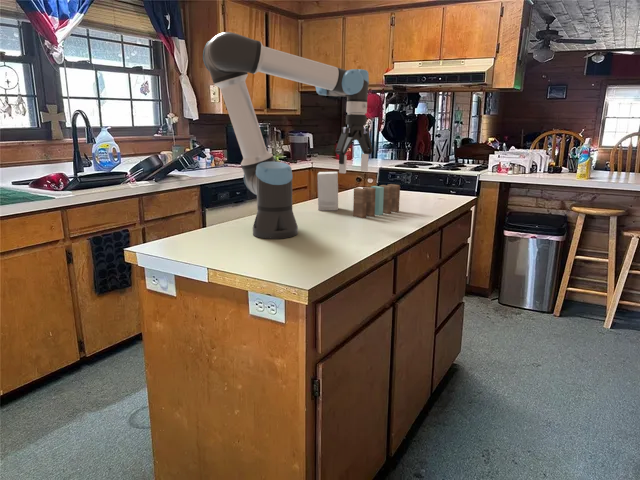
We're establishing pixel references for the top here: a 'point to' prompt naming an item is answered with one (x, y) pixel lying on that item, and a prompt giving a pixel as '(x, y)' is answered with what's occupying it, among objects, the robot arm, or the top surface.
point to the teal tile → (378, 200)
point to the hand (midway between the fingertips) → (353, 172)
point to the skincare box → (327, 190)
